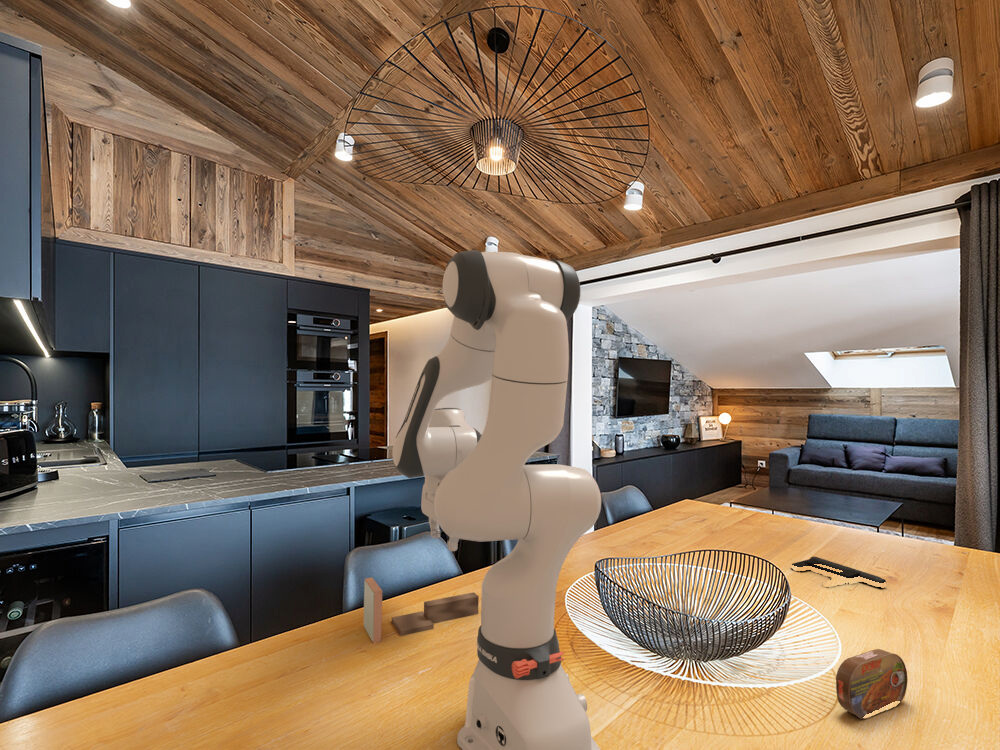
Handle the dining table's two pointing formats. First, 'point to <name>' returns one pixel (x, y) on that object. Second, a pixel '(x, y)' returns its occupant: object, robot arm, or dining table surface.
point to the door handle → (846, 570)
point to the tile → (372, 609)
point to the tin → (870, 681)
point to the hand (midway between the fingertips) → (443, 543)
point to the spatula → (437, 613)
